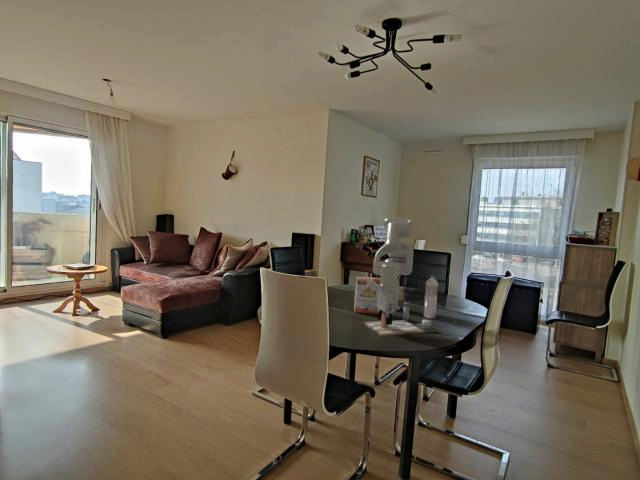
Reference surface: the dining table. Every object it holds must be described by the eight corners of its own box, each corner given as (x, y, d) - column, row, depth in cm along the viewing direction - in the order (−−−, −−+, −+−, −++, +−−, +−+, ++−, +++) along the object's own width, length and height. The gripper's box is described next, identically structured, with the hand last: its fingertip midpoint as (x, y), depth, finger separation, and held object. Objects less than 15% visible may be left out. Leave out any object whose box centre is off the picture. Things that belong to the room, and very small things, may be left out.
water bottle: (427, 319, 215) (430, 276, 213) (420, 315, 222) (424, 274, 220) (437, 318, 217) (441, 276, 215) (431, 315, 223) (434, 274, 222)
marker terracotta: (379, 326, 191) (381, 307, 190) (385, 326, 192) (387, 307, 191) (382, 328, 188) (384, 309, 187) (388, 328, 189) (390, 308, 188)
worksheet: (363, 323, 198) (363, 321, 198) (404, 322, 206) (404, 319, 206) (380, 335, 180) (380, 333, 180) (424, 333, 188) (424, 330, 188)
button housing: (416, 328, 196) (416, 323, 196) (427, 327, 198) (427, 323, 198) (424, 332, 189) (424, 327, 189) (435, 331, 192) (436, 327, 192)
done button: (419, 326, 195) (420, 319, 195) (427, 325, 197) (427, 319, 196) (425, 328, 191) (425, 322, 191) (432, 328, 192) (433, 321, 192)
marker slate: (401, 319, 212) (402, 302, 211) (406, 319, 213) (407, 301, 212) (404, 321, 208) (405, 303, 208) (409, 320, 209) (411, 303, 209)
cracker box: (354, 312, 219) (357, 277, 217) (353, 310, 225) (356, 276, 223) (378, 314, 219) (381, 279, 218) (376, 311, 225) (379, 277, 224)
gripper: (372, 284, 195) (370, 317, 197) (389, 292, 179) (386, 327, 180) (385, 284, 198) (382, 316, 199) (402, 292, 182) (400, 327, 183)
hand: (384, 321), depth 190 cm, fingers open, 8 cm apart
